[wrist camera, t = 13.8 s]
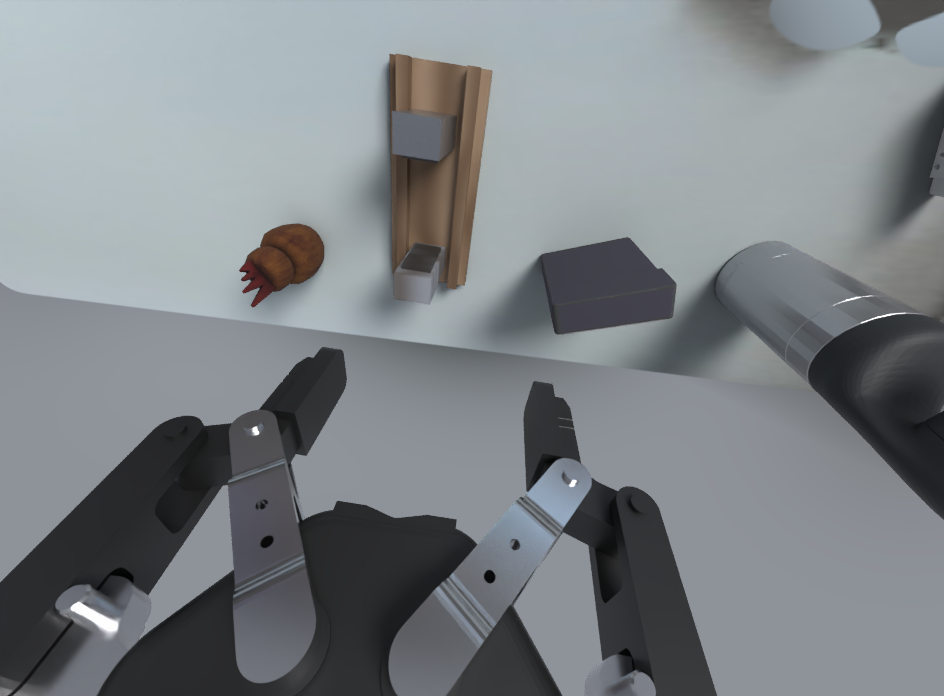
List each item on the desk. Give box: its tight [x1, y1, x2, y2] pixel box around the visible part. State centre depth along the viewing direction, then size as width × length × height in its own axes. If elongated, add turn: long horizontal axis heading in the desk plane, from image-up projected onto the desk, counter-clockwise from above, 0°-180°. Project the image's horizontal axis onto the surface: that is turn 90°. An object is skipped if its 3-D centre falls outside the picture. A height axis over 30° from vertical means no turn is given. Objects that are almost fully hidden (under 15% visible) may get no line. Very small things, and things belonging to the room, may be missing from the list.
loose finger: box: [392, 109, 457, 163], centre depth 32 cm, size 4×3×10 cm
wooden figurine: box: [239, 224, 324, 307], centre depth 40 cm, size 7×6×15 cm
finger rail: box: [390, 54, 492, 304], centre depth 36 cm, size 10×23×12 cm, turn 173°
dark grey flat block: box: [541, 238, 676, 335], centre depth 38 cm, size 11×4×15 cm, turn 104°
